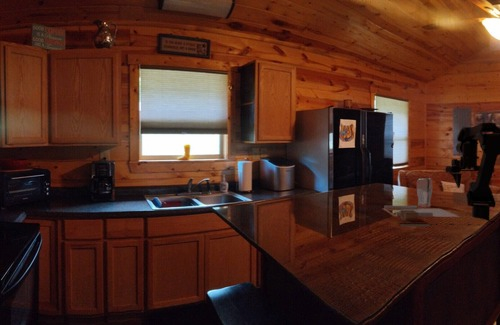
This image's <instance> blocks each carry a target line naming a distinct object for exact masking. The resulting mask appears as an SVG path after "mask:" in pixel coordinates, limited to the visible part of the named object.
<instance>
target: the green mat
mask: <svg viewBox="0 0 500 325" xmlns="http://www.w3.org/2000/svg"><path fill="white" fill-rule="evenodd" d="M396 224H397V225H399V226H400V227H430V223H427V222H396Z"/></svg>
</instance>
